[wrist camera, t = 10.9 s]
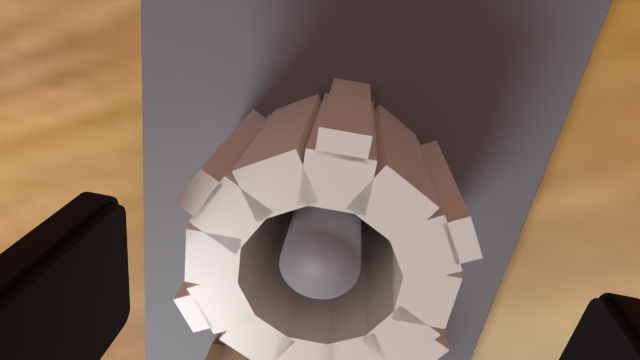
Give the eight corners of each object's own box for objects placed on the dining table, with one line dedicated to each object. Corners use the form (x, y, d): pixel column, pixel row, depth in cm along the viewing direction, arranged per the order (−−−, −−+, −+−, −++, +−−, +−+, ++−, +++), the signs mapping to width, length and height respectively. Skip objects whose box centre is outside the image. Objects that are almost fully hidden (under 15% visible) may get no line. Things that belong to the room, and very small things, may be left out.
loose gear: (239, 61, 14) (176, 101, 9) (466, 100, 13) (518, 161, 9) (224, 261, 17) (172, 367, 12) (409, 295, 17) (426, 414, 12)
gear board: (169, -98, 14) (-21, -174, 7) (589, -28, 14) (816, -37, 7) (164, 398, 23) (78, 576, 16) (415, 446, 23) (437, 647, 16)
